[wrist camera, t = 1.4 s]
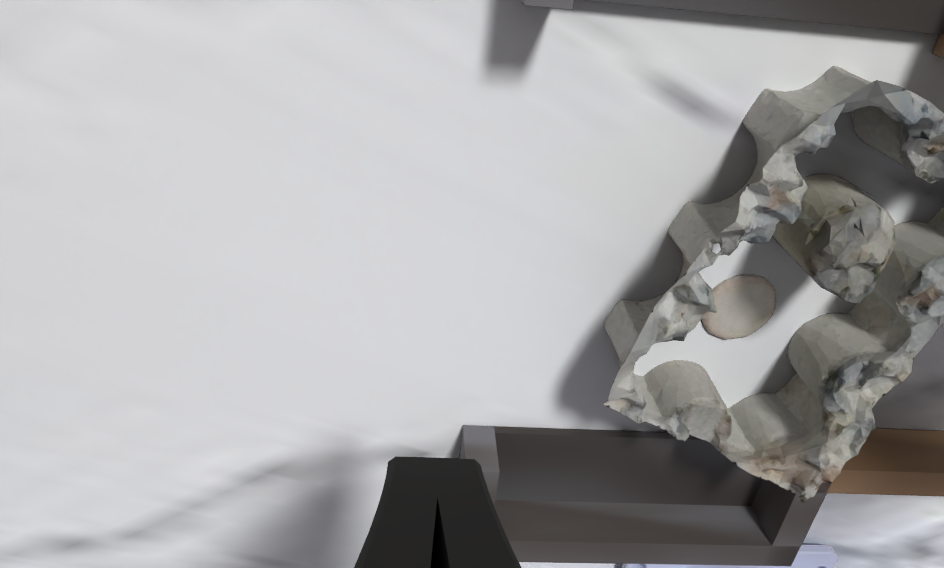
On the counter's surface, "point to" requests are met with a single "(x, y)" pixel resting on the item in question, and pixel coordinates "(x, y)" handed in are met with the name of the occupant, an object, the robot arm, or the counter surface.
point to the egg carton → (828, 263)
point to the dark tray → (694, 460)
